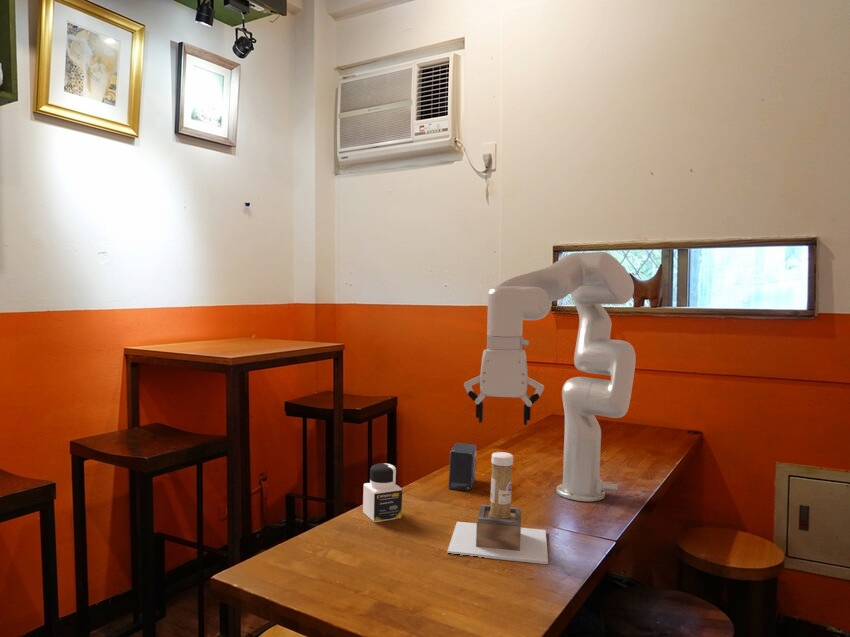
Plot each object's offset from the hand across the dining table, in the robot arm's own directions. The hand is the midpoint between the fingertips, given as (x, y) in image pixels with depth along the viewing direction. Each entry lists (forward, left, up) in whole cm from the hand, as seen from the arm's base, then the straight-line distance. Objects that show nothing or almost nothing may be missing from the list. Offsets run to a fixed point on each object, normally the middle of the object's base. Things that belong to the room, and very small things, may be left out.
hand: (502, 422), depth 127 cm
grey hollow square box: (0, +4, -25) cm, 25 cm away
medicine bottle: (+28, -5, -25) cm, 38 cm away
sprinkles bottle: (0, +3, -20) cm, 20 cm away
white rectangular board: (0, +4, -25) cm, 25 cm away
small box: (+12, -33, -25) cm, 44 cm away
